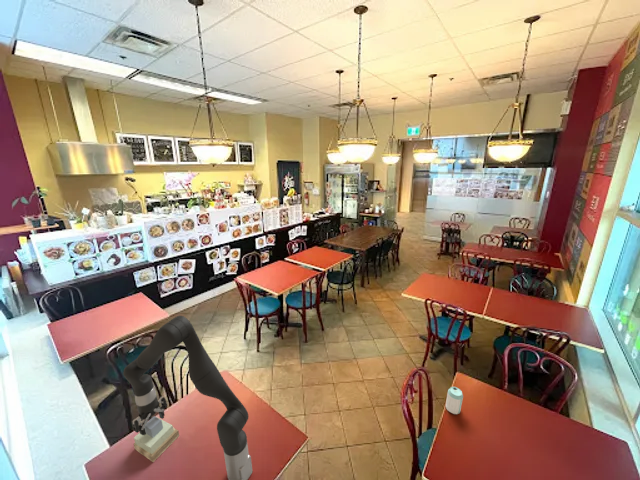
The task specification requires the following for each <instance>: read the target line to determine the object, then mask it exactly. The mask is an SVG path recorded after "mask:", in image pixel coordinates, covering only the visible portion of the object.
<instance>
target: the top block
mask: <svg viewBox="0 0 640 480" xmlns="http://www.w3.org/2000/svg"><path fill="white" fill-rule="evenodd" d="M156 417H157V418H159V419H161V418H160V417H158V416H156ZM161 420H162V425H163V429H162V430H161V431H160V432H159V433H158V434H157V435H156V436H155V437H154V438H152V437H151V436H149V435H147V434H145V435H141V434H140V432H138V433H136V435H135V436H134V437H133V440H134V443H135V444H136V445H137V446H139V447H141V448H142V449H144V450H146V451H147V452H149V453H151V454H153V453H154V452H155V451H156V450H157V449H158V448H159V447H160V446H161V445H162V444H163V442H164V441H165V440H166V439H167V438H168V437H169V436H170V435H171V434H172V433H173V432H174V429H173V428H174V426H173V425H172V424H171V423H169V422H167V421H166V420H164V419H161Z"/></svg>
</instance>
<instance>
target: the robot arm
mask: <svg viewBox="0 0 640 480" xmlns="http://www.w3.org/2000/svg"><path fill="white" fill-rule="evenodd" d="M182 343H183V344H184V346H185V348H186V351H187V356H188V375H189V379H190V381H191V382H192V385H194V386H195V389H196V390H197V392H198V393H200V394H201V395H202V396H206V397H210V398H214V399H216V400H219V401H220V402H221V403H222V404H223V405H224V406H225V408H226V411H225V412H224V413H223V414H222V416H221V417H220V418H219V420H218V422H217V423H216V432H217V435H218V440H219V443H220V445H221V447H222V449H223V456H224V463H225V469H226V470H225V471H226V474H227V475H226V476H227V480H248V479H250V477H251V475H252V473H253V472H254V471H253V462H252V456H251V455H250V453H249V446H248V445H249V444H248V439H247V438H248V436H247V432H245V430H244V427H245V425H246V424H247V423H248V420H249V413H248V411H247V408H246V406H245V405H243V403H242V401H241V400H239V398H238V397H237V396H236V395H235V393H234V392H233V391H232V389H231V388H230V386H229V385H228V383H227V382H226V380H225V379H224V377H223V376H222V374H221V372H220V371H219V369H218V367H217V365H216V364H215V363H214V362H213V359H211V357H210V356H209V354H208V352H207V351H206V349H205V347H204V346H203V344H202V342H201V339H200V338H199V336H198V334H197V332H196V330H195V328H194V325H192V323H191V322H190V320H189V318H187V317H186V316H184V315H177V316H175V317H174V318H172V319H171V320H169V321H168V322H166V323H164V324H163V325H161V327H159V328H158V330H157V331H156V333H155V334H154V337H152V340H151V342H149V345H148V346H146V347H145V348H144V349H143V350H142V351H141V352H140V354H139V355H138V356H137V358H135V359H134V360H133V361H131V362H130V363H129V364H126V366H125V367H124V369H123V374H122V375H123V377H124V378H125V379H126V380H127V382H128V383H129V384H130V386H131V387H132V390H133V394H134V401H135V404H136V408H137V412H138V416H137V417H136V418H132V419H131V426H132V431H134V432H135V433H136V434H138V433H140V434H141V435H145V434H146V432H145V428H144V427H145V424H147V422H148V421H149V420H150V419H151V418H152V417H154V416H155V414H156V413H157V412H158V416H159V418H160V419H162V420H164V418H165V410H166V409H167V408H168V403H167V400H166V397H164V396H162V395H160V396H159V398H158V397H157V392H156V388H155V387H154V383H153V378H152V375H150V374H148V373H146V372H148V371H149V370H151V368H153V366H154V365H155V364H156V363H157V362H159V360H160V359H161V358H162V356H164V355H163V354H164V353H166V352H168V351H170V350H172V349H174V348H176V347H177V346H179V345H180V344H182ZM160 404H161V406H160Z"/></svg>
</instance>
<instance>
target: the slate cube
mask: <svg viewBox="0 0 640 480" xmlns="http://www.w3.org/2000/svg"><path fill="white" fill-rule="evenodd" d="M157 417H158V416H155V415H153V416H152V417H151V418H150V419H148V421H147V424H145V427H144V428H145V432H146V434H147V435H149V436H151V437H152V438H154V437H155V436H156V435H157V434H158V433H159V432H160V431H161V430H162V429H163V425H162V420H163V419H162V420H161V418H160V417H158V418H157ZM159 418H160V419H159Z"/></svg>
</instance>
